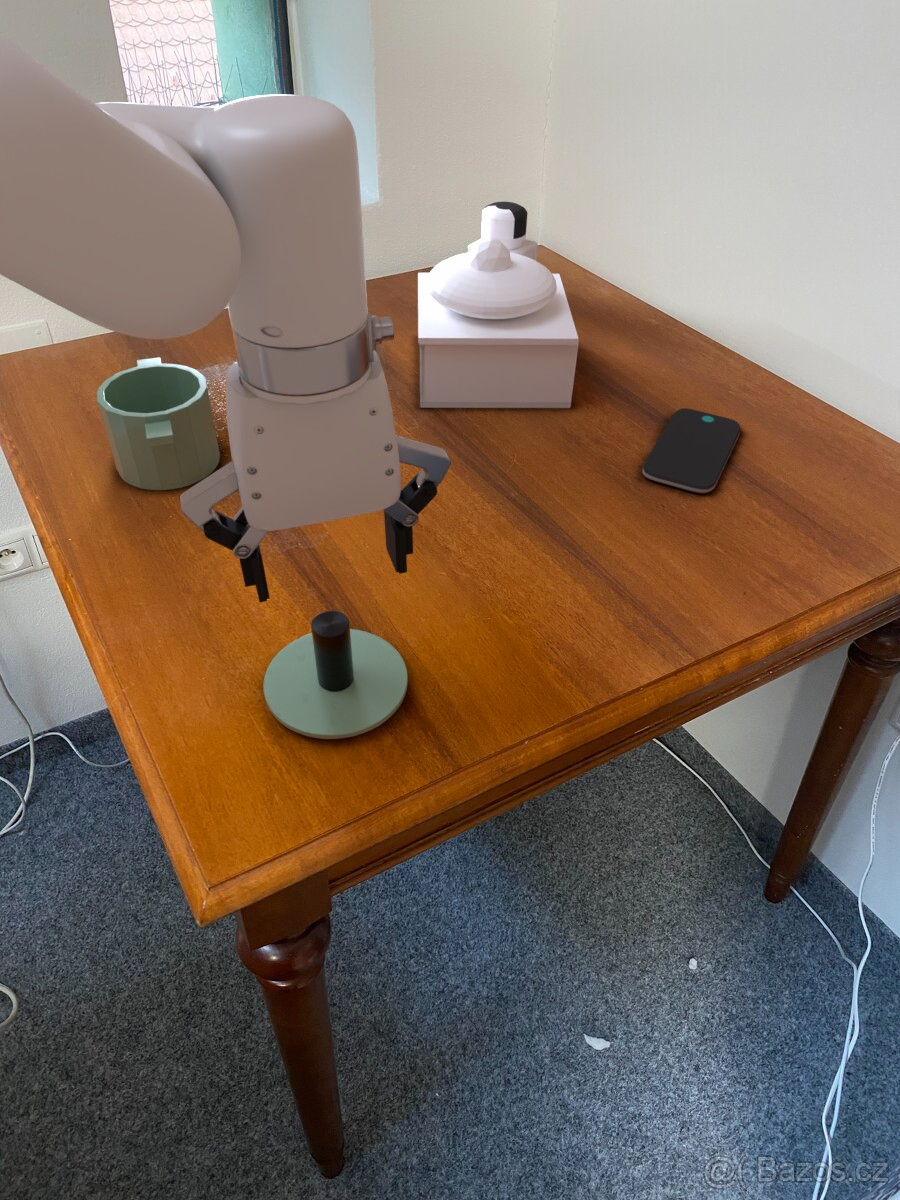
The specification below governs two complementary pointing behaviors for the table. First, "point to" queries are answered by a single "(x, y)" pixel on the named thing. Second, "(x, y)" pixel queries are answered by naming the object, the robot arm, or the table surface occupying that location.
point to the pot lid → (335, 680)
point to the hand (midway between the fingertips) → (330, 574)
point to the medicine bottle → (507, 228)
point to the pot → (159, 425)
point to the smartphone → (692, 451)
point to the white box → (494, 333)
